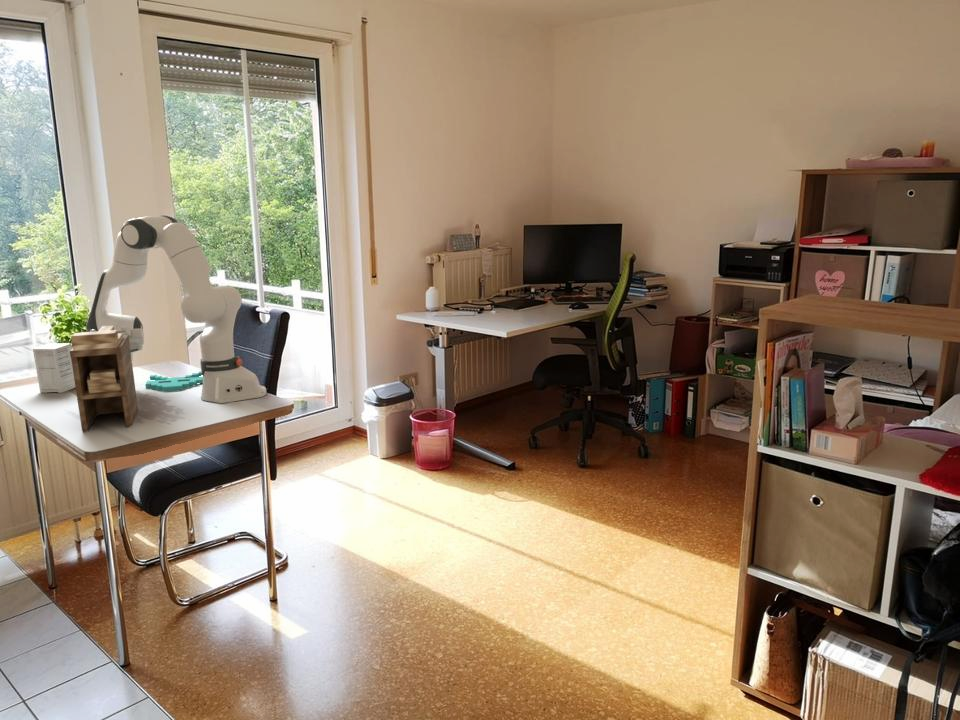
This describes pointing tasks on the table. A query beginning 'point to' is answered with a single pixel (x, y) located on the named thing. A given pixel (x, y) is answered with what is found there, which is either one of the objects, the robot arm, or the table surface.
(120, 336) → the plywood board
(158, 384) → the alien figure
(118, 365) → the walnut shelf
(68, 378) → the supplement box
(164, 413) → the table surface
